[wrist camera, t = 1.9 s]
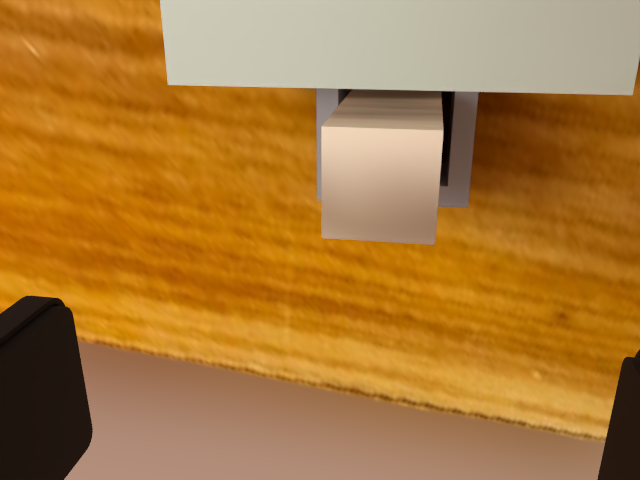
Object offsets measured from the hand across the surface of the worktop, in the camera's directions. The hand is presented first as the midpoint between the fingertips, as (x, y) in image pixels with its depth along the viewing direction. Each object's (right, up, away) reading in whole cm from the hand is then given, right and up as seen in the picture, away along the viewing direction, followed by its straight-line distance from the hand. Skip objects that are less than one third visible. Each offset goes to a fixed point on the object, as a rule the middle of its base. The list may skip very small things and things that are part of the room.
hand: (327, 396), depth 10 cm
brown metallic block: (+4, +9, +21) cm, 24 cm away
